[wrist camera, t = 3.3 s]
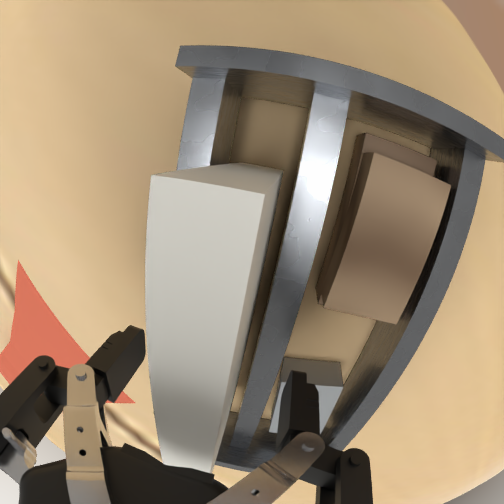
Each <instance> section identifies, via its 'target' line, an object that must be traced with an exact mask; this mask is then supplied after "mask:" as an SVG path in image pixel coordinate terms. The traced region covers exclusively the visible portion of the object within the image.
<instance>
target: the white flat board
mask: <svg viewBox="0 0 504 504" xmlns="http://www.w3.org/2000/svg"><path fill="white" fill-rule="evenodd" d="M283 172H284V170H279V169H275V168H270V167H264V166H259V165H254V164H248V163H243V162H241V163H231V164H222V165H214V166H206V167H198V168H191V169H184V170H177V171H171V172H165V173H159V174H153V175H151V182H150V193H149V204H148V217H147V234H146V261H145V307H146V334H147V350H148V363H149V374H150V384H151V393H152V401H153V408H154V415H155V422H156V428H157V434H158V440H159V446H160V451H161V456H162V461H163V464H165V465H169V466H177V467H186V468H193V469H196V470H200V471H204V472H207V473H211V474H212V472H213V468H214V465H215V461H216V458H217V454H218V451H219V448H220V444H221V441H222V437H223V434H224V430H225V427H226V423H227V419H228V416H229V412H230V409H231V405H232V401H233V398H234V394H235V391H236V387H237V383H238V378H239V374H240V370H241V365H242V361H243V357H244V352H245V348H246V344H247V339H248V335H249V331H250V326H251V322H252V317H253V313H254V308H255V304H256V299H257V295H258V290H259V286H260V281H261V277H262V272H263V267H264V263H265V258H266V253H267V249H268V244H269V239H270V235H271V230H272V225H273V220H274V216H275V211H276V206H277V201H278V196H279V191H280V187H281V182H282V177H283Z"/></svg>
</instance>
